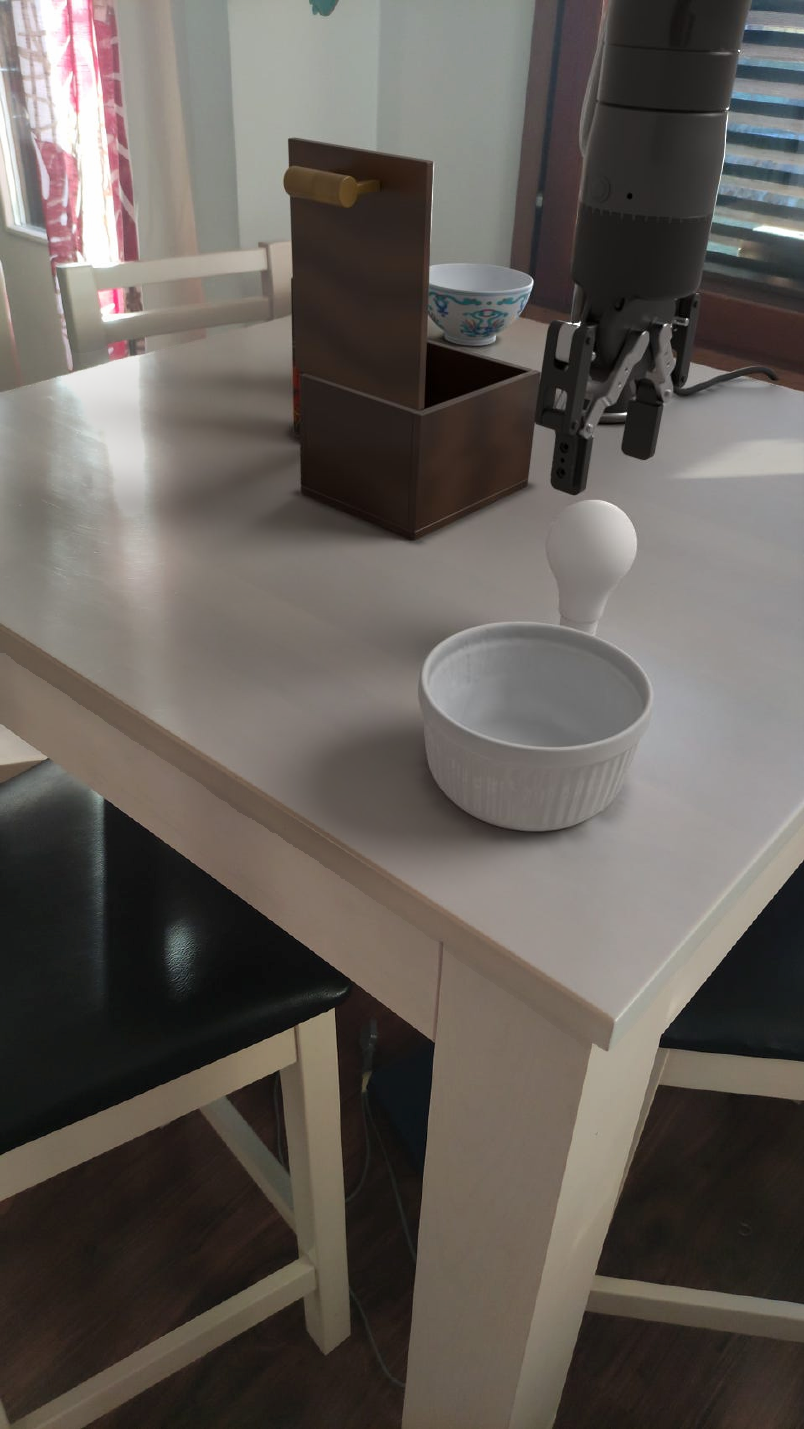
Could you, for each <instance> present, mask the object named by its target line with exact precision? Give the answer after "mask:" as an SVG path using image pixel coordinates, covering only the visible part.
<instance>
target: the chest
mask: <svg viewBox="0 0 804 1429" xmlns="http://www.w3.org/2000/svg"><path fill="white" fill-rule="evenodd" d="M540 377H541V371H540V370H536V369H532V368H529V367H526V366H522V365H519V364H515V363H512V362H508V361H504V360H502V359H497V358H494V357H491V356H487V355H484V354H481V353H476V352H473V351H471V350H466V349H462V348H459V347H457V346H452V345H448V344H445V343H443V342H442V343H441V342H438V341H435V340H432V339H428V338H427V348H426V373H425V399H424V409H421V410H419V411H417V410H414V409H411V408H408V407H405V406H402V405H399V404H396V403H393V402H390V401H387V400H384V399H381V398H378V397H375V396H372V395H369V394H366V393H363V392H360V391H357V390H354V389H351V388H348V387H345V386H342V385H339V384H336V383H333V382H330V381H327V380H324V379H321V378H318V377H315V376H312V375H309V374H306V373H304V374H300V375H299V400H300V439H299V456H300V457H299V459H300V460H299V461H300V462H299V463H300V466H299V467H300V493H301V494H302V495H304V496H307V497H309V498H312V499H313V500H316V501H319V502H321V503H323V504H326V505H329V506H331V507H334V508H335V509H338V510H341V511H343V512H345V513H347V514H350V515H351V516H352V515H353V516H355V517H357V518H360V519H362V520H365V521H367V522H368V523H372V524H374V525H377V526H378V527H382V528H384V529H386V530H389V531H391V532H393V533H396V534H398V535H401V536H403V537H405V538H408V539H410V540H412V541H416V540H418V539H420V538H422V537H425V536H426V535H428V534H430V533H432V532H434V531H437V530H439V529H441V528H443V527H445V526H447V525H450V524H451V523H453V522H456V521H457V520H460V519H462V518H464V517H466V516H468V515H470V514H472V513H474V512H476V511H478V510H481V509H483V508H485V507H487V506H489V505H491V504H493V503H495V502H497V501H500V500H501V499H504V498H505V497H508V496H509V495H511V494H514V493H516V492H518V491H520V490H523V489H524V488H527V487H528V485H529V484H528V483H529V477H530V476H529V475H530V468H531V460H532V453H533V452H532V451H533V442H534V434H535V427H536V423H535V420H534V418H535V411H536V404H537V397H538V391H539V384H540Z"/></svg>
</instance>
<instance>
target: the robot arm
mask: <svg viewBox="0 0 804 1429" xmlns="http://www.w3.org/2000/svg"><path fill="white" fill-rule="evenodd" d="M752 2H753V0H608V2H607V6H606V11H605V14H604V19H603V23H602V26H601V31H600V34H599V37H598V42H597V46H596V49H595V54H594V57H593V62H592V65H591V68H590V73H589V76H588V80H587V85H586V89H585V93H584V98H583V101H582V107H581V112H580V118H579V128H578V129H579V131H578V141H579V142H578V143H579V144H578V145H579V150H580V153H581V156H582V159H583V168H582V175H581V182H580V192H579V199H578V200H579V202H578V207H577V216H576V223H575V230H574V231H575V232H574V239H573V240H574V241H573V248H572V256H571V262H570V263H571V264H570V278H571V280H572V281H573V283H574V289H573V297H572V305H571V311H570V319H569V322H567V321H563V320H559V319H553V320H552V321H551V322H550V324H549V325H548V328H547V331H546V338H545V345H544V352H543V358H542V363H541V371H540V372H541V375H540V384H539V391H538V397H537V404H536V411H535V418H534V420H535V425H536V426H540V427H544V428H546V429H550V430H552V431H554V434H555V435H554V436H555V437H554V438H555V439H554V445H553V454H552V461H551V468H550V480H549V481H550V485H551V487H552V488H553V489H554V490H557V491H559V492H563V493H565V494H568V495H570V496H577V495H579V494H581V493H584V492H585V490H586V489H587V483H588V478H589V470H590V465H591V458H592V451H593V445H594V438H595V436H593V434H594V432H595V430H596V428H597V426H598V424H599V423H605V424H606V423H607V424H608V423H609V424H613V423H614V424H615V423H624V427H623V434H622V441H621V446H620V450H621V452H622V453H623V454H624V455H625V456H627V457H631V458H633V459H637V460H640V461H647V460H649V459H651V458H652V457H654V456H655V454H656V449H657V445H658V444H657V443H658V438H659V433H660V429H661V422H662V417H663V412H664V407H665V406H664V404H667V403H669V402H670V401H671V399H672V396H673V394H674V395H678V396H681V397H682V396H684V397H685V396H690V395H694V394H696V393H697V392H700V391H702V390H706V389H708V388H711V387H712V386H714V385H716V384H719V383H723V382H727V381H730V380H735V379H737V378H738V379H739V378H740V377H744V376H747V375H753V374H762V375H764V376H767V377H768V378H769V379H770V380H771V381H775V382H777V381H778V382H779V381H780V378H779V376H778V374H777V373H776V372H775V371H774V370H773V369H772V368H770V367H767V366H762V365H753V366H751V365H750V366H745V367H742V368H739V369H736V370H733V371H729V372H726V373H720V374H717V375H714V376H712V377H710V378H708V379H706V380H704V381H701V382H697V383H696V384H693V385H690V386H688V387H685V385H686V383H687V381H688V378H689V372H690V367H691V361H692V356H693V349H694V344H695V337H696V332H697V331H696V330H697V326H698V319H699V315H700V308H701V304H702V303H701V302H702V296H701V294H700V293H697V290H698V289H699V288H700V286H701V281H702V276H703V270H704V265H705V261H706V257H707V256H706V255H707V251H708V247H709V246H708V245H709V240H710V235H711V231H712V230H711V229H712V224H713V220H714V214H715V208H716V203H717V198H718V193H719V187H720V182H721V177H722V173H723V166H724V160H725V154H726V153H725V152H726V139H727V126H728V118H729V111H728V110H729V108H730V105H731V100H732V97H733V96H732V95H733V91H734V85H735V80H736V74H737V70H738V65H739V58H740V53H741V52H740V51H741V48H742V44H743V40H744V34H745V29H746V26H747V21H748V16H749V13H750V10H751V6H752ZM673 350H674V351H675V352H676V358H674V354H673ZM557 390H560V393H559V398H558V401H557V403H556V405H555V400H556V394H557Z"/></svg>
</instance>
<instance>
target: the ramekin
mask: <svg viewBox="0 0 804 1429" xmlns="http://www.w3.org/2000/svg"><path fill="white" fill-rule="evenodd" d="M423 660H424V661H423V663H422V665H421V668H420V672H419V676H418V677H419V678H418V686H417V698H418V703H419V706H420V710H421V712H422V724H423V733H424V734H423V735H424V736H423V737H424V744H425V751H426V752H425V754H426V758H427V764H428V767H429V770H430V772H431V774H432V777H433V779H434V780H435V782H436V783H437V785H438V787H439V789H440V790H441V791H443V793H444V795H446V797H448V798H449V800H451V801H452V803H454V804H455V805H456V806H457V807H458V808H459V809H461V810H462V811H464V812H465V813H467V814H468V815H470V816H472V817H474V818H475V819H478V820H481V821H483V822H485V823H487V824H490V825H493V826H496V827H499V828H503V829H508V830H513V831H514V830H515V831H519V832H520V831H523V832H550V831H558V830H562V829H567V828H570V827H574V826H576V825H579V824H581V823H583V822H585V821H586V820H589V819H590V818H592V817H595V816H596V815H598V814H599V812H602V811H603V810H605V809H606V808H607V807H608V805H610V804H611V803H612V802H613V801H614V799H615V798H616V796H617V795H618V794H619V793H620V791H621V789H622V787H623V785H624V782H625V780H626V777H627V775H628V773H629V770H630V767H631V766H632V763H633V761H634V757H635V754H636V752H637V749H638V747H639V744H640V741H641V739H642V738H643V736H644V735H645V733H646V732H647V730H648V727H649V725H650V722H651V719H652V713H653V709H654V708H653V707H654V698H655V697H654V688H653V685H652V682H651V680H650V678H649V676H648V675H647V673H646V672H645V670H644V669H643V667H642V666H641V665H640V664H639V663H638V662H637V661H636V660H635V659H634V658H633V657H632V656H630V655H629V654H628V653H627V652H625V651H624V650H622V649H621V648H620V647H617V646H616V645H615V644H613V643H611V642H609V641H607V640H604V639H603V638H600V637H598V636H596V635H595V636H594V635H591V634H588V633H585V632H583V631H579V630H576V629H572V628H569V627H564V626H560V624H553V623H548V622H539V621H523V620H522V621H521V620H518V621H497V622H491V623H485V624H480V625H477V626H472V627H469V628H466V629H464V630H461V631H458V632H456V633H454V634H452V635H450V636H448V637H447V638H445V639H443V640H442V641H440V642H439V643H438V644H437V645H436V646H434V647H433V648H432V649H431V650H430V651H429V653H428V654H427V656H426V657H425V659H423Z"/></svg>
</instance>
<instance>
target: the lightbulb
mask: <svg viewBox="0 0 804 1429" xmlns="http://www.w3.org/2000/svg"><path fill="white" fill-rule="evenodd" d="M637 550H638V537H637V532H636V530H635V527H634V525H633V523H632V521H631V520H630V517H629V516H628V515H627V514H626V513H625V512H624V511H623V510H622V509H621V508H620V507H618V506H616V505H614V504H612V503H610V502H608V501H605V500H601V499H587V500H580V501H578V502H575V503H572V504H570V505H568V506H567V507H565V508H564V509H563V510H562V511H561V512H560V513H558V515H557V516H556V517H555V518H554V519H553V520H552V522H551V524H550V526H549V529H548V531H547V534H546V538H545V554H546V559H547V562H548V565H549V566H550V570H551V573H552V574H553V577H554V579H555V581H556V585H557V590H558V612H559V614H560V618H559V625H560V626H564V627H569V628H572V629H576V630H579V631H583V632H585V633H588V634H591V635H594V636H596V632H597V629H598V624H599V620H600V619H601V618H602V617H603V615H604V611H605V606H606V604H607V602H608V599H609V597H610V595H611V594H612V592H613V590H614V589H615V588H616V587H617V585H618V584H619V583H620V582H622V580H623V579H624V577H625V576H626V575H627V573H628V572H629V571H630V569H631V567H632V566H633V564H634V562H635V559H636V556H637Z"/></svg>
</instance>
